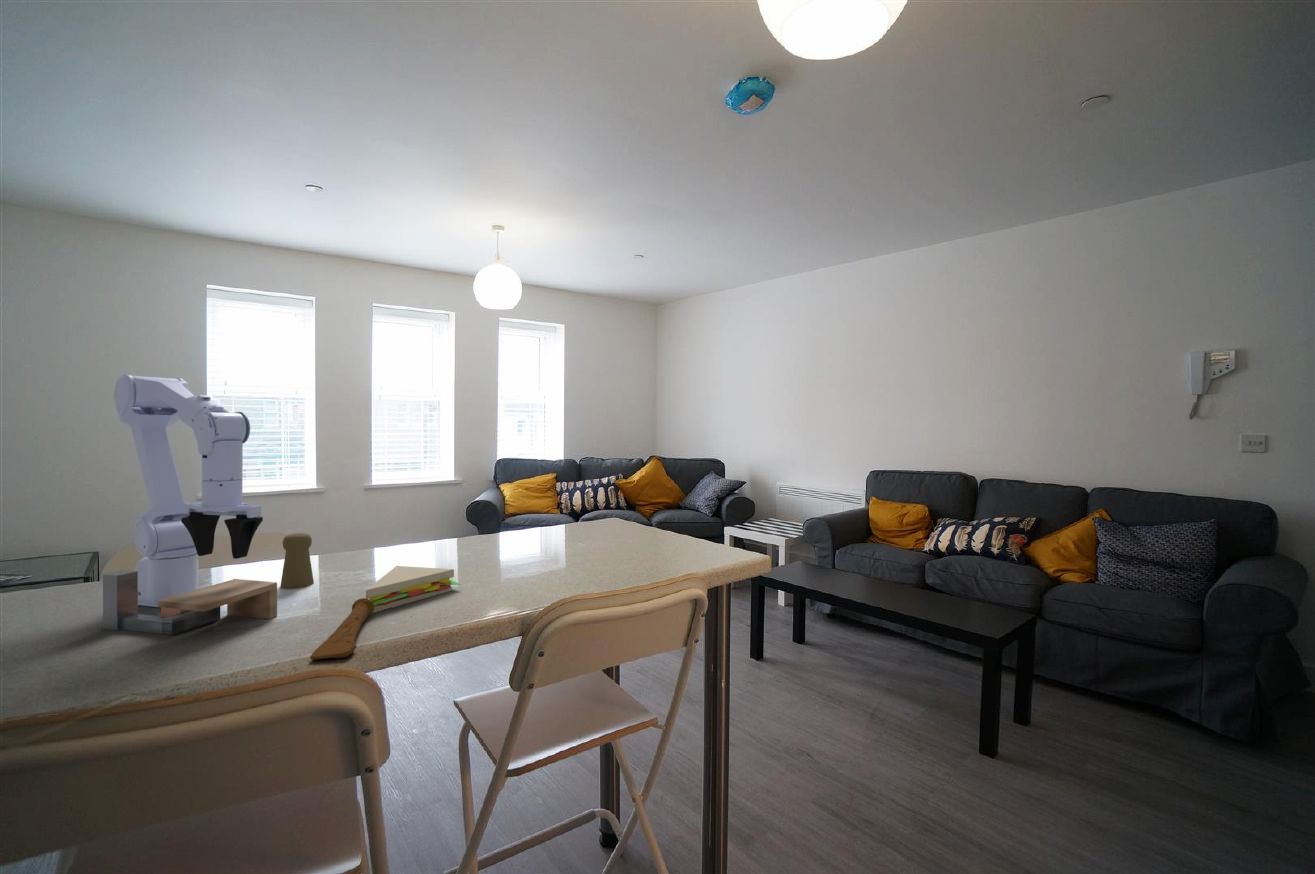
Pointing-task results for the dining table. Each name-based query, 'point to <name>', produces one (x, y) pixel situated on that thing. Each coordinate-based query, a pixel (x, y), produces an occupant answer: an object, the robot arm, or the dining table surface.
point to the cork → (297, 562)
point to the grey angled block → (124, 614)
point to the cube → (170, 611)
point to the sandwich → (409, 586)
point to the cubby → (230, 598)
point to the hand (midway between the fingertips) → (222, 556)
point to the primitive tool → (345, 633)
